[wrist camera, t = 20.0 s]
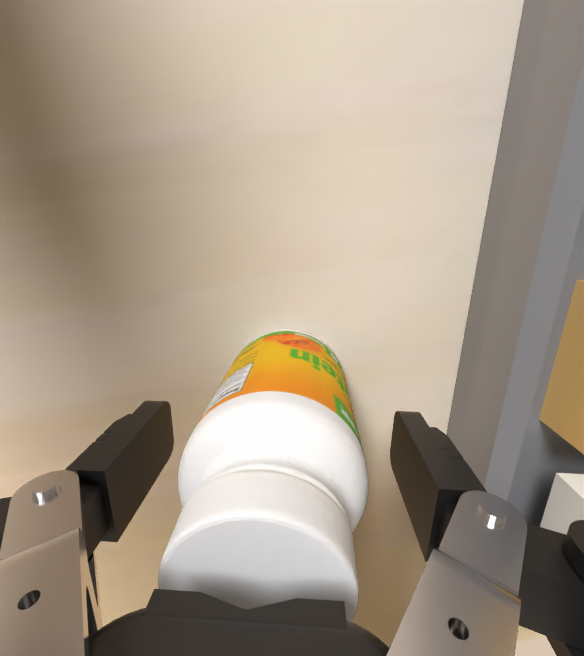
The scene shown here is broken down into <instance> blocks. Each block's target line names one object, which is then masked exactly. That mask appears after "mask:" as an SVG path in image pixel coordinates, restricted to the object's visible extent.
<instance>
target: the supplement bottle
mask: <svg viewBox="0 0 584 656" xmlns="http://www.w3.org/2000/svg"><path fill="white" fill-rule="evenodd" d="M178 489H179V495H180V501H181V504H182V507H183V509H182V511H181V513H180V515H179V518H178V521H177V524H176V526H175V529H174V531H173V533H172V536H171V538H170V540H169V543H168V545H167V547H166V550H165V552H164V555H163V557H162V560H161V564H160V568H159V576H158V587H159V589H163V590H178V591H194V592H202V593H204V594H207V595H209V596H212V597H215V598H217V599H220V600H222V601H225V602H227V603H230V604H232V605H235V606H237V607H240V608H243V609H251V608H256V607H260V606H265V605H269V604H273V603H278V602H282V601H287V600H291V599H295V598H302V599H318V600H333V601H344V602H345V612H346V620H347V621H350V622H352V620H353V618H354V615H355V612H356V609H357V604H358V598H359V585H358V577H357V568H356V560H355V552H354V544H353V536H352V533H353V531H354V530H355V528H356V527H357V525H358V523H359V521H360V519H361V517H362V515H363V512H364V510H365V507H366V503H367V498H368V473H367V467H366V462H365V457H364V453H363V449H362V445H361V441H360V437H359V434H358V430H357V426H356V422H355V418H354V414H353V410H352V406H351V402H350V398H349V394H348V389H347V385H346V381H345V377H344V373H343V370H342V367H341V364H340V362H339V360H338V358H337V356H336V355H335V353H334V352H333V351H332V350H331V348H330V347H329V346H328V345H327V344H326V343H324V342H323V341H322V340H320V339H319V338H317V337H315V336H313V335H312V334H309V333H306V332H303V331H299V330H293V329H280V330H274V331H270V332H267V333H265V334H262V335H260V336H259V337H257V338H255V339H254V340H252V341H251V342H250V343H249V344H248V345H246V346H245V347H244V349H243V350H242V351H241V352H240V354H239V355H238V357H237V358H236V360H235V361H234V363H233V365H232V366H231V368H230V370H229V371H228V373H227V375H226V376H225V378H224V380H223V382H222V383H221V385H220V387H219V388H218V390H217V392H216V393H215V395H214V397H213V399H212V400H211V402H210V404H209V405H208V407H207V409H206V410H205V412H204V414H203V416H202V417H201V419H200V420H199V422H198V424H197V425H196V427H195V429H194V431H193V432H192V434H191V436H190V438H189V440H188V442H187V444H186V446H185V449H184V452H183V454H182V457H181V461H180V465H179V471H178Z"/></svg>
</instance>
